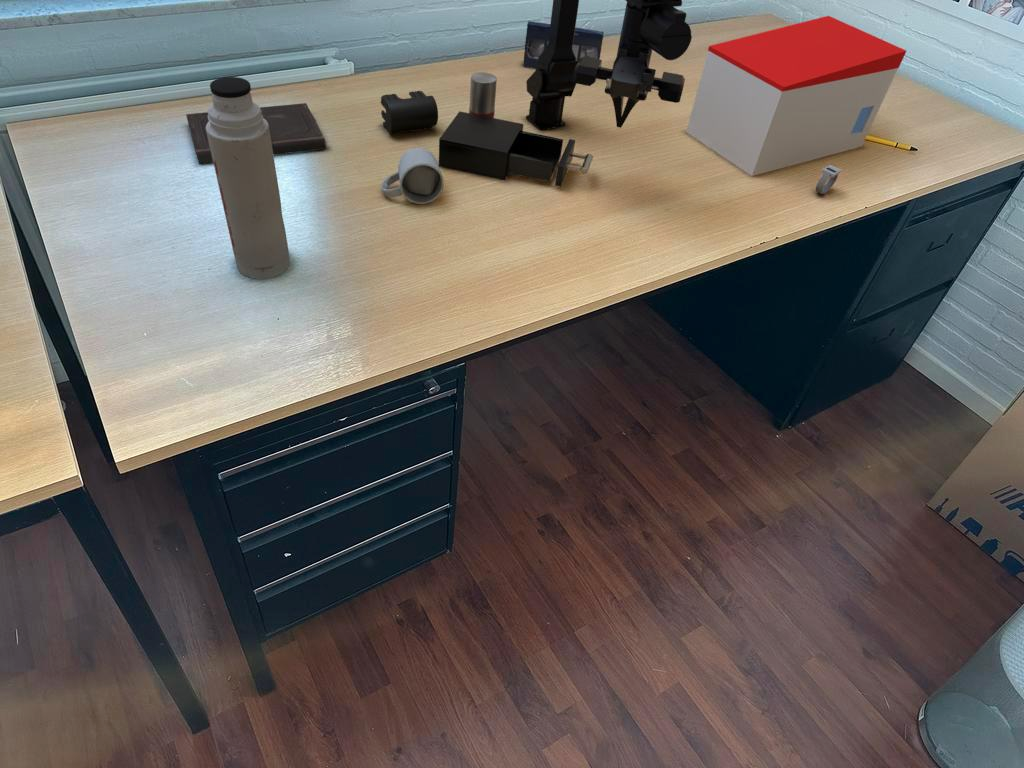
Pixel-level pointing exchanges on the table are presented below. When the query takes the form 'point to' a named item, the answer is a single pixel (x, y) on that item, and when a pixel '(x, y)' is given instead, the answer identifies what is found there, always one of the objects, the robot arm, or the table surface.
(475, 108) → the grey metal cylinder
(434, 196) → the ceramic mug
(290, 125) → the hardcover book
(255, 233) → the thermos bottle
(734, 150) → the bookstore
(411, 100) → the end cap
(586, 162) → the drawer
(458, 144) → the cabinet
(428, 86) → the table surface
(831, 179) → the wristwatch
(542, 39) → the vhs cassette tape
